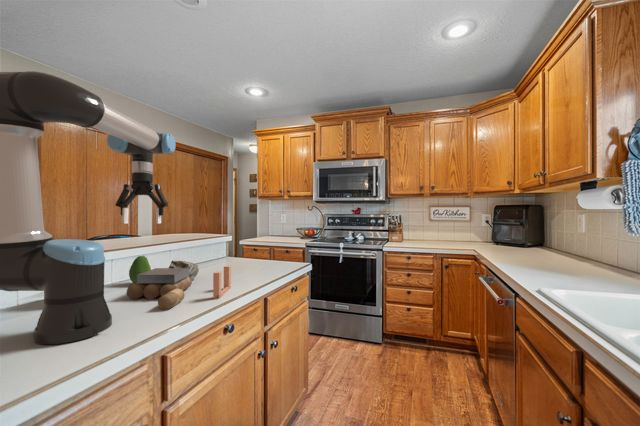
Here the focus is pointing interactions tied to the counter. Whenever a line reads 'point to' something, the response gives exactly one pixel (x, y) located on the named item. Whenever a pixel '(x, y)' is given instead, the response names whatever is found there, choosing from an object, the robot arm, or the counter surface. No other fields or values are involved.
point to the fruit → (138, 268)
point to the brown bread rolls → (156, 288)
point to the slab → (163, 275)
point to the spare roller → (170, 299)
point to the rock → (183, 264)
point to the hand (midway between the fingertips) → (142, 223)
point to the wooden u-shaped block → (217, 282)
